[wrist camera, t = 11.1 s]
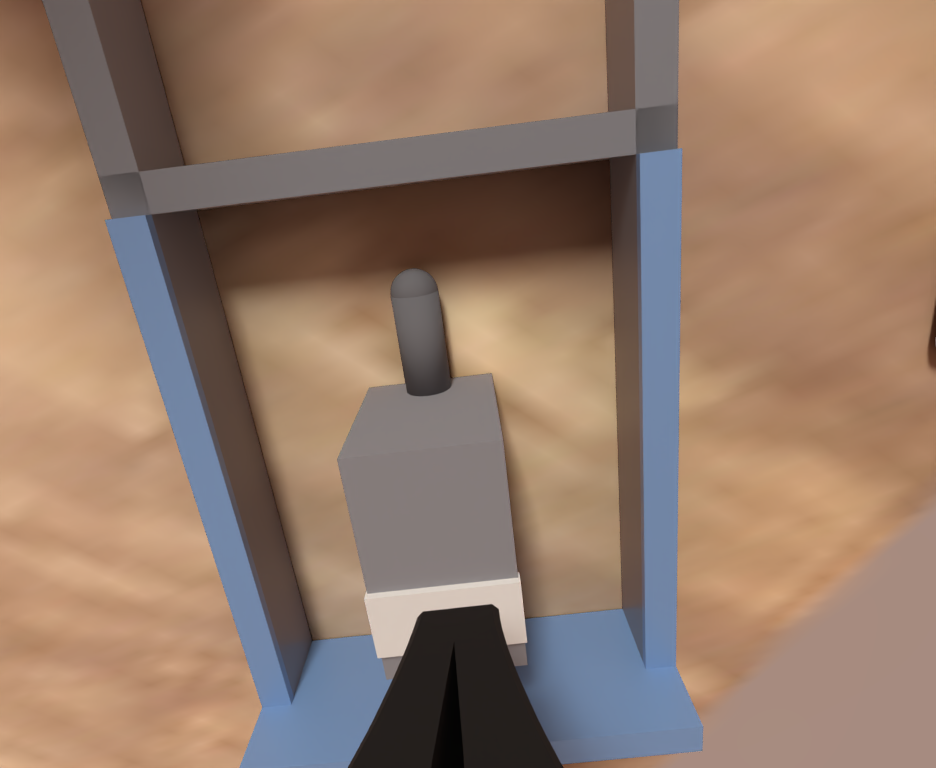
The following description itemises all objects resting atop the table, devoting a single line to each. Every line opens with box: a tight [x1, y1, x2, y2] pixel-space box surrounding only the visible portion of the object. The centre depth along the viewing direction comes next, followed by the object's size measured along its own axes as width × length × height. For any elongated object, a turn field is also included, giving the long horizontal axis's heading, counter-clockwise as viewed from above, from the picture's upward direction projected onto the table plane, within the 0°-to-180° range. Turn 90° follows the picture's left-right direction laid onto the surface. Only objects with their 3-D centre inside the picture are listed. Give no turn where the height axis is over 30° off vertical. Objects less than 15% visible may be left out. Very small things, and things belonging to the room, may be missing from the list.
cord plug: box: [337, 268, 528, 680], centre depth 16 cm, size 4×11×5 cm, turn 7°
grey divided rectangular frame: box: [42, 0, 703, 768], centre depth 14 cm, size 14×34×5 cm, turn 7°
